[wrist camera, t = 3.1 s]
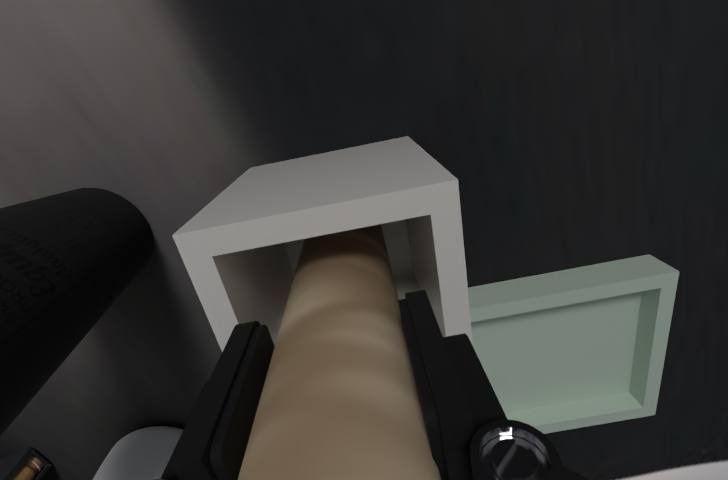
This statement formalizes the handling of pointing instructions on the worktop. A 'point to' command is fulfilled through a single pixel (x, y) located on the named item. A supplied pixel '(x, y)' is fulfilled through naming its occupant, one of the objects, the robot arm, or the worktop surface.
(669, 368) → the worktop surface
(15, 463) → the ammunition clip
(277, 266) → the holder
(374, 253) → the dowel
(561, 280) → the tray
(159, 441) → the water bottle
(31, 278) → the drinking cup
